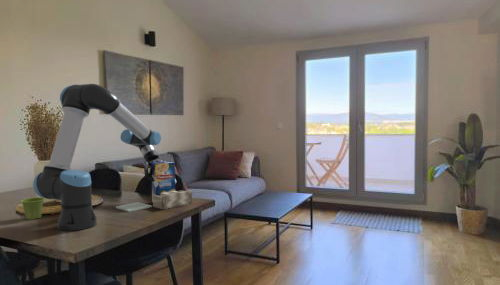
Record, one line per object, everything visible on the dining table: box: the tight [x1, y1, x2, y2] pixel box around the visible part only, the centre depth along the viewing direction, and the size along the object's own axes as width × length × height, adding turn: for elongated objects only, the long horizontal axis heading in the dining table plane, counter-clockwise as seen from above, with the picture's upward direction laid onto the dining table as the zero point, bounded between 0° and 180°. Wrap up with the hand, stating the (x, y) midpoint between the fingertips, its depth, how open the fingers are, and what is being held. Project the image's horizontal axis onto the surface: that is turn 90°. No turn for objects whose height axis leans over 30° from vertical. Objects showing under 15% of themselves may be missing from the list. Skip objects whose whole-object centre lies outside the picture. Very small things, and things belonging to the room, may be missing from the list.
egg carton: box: [152, 190, 193, 210], centre depth 191 cm, size 18×10×7 cm, turn 138°
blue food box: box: [151, 161, 176, 203], centre depth 198 cm, size 7×11×22 cm, turn 123°
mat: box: [115, 201, 153, 213], centre depth 186 cm, size 13×13×1 cm
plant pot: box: [20, 197, 46, 220], centre depth 167 cm, size 9×9×9 cm
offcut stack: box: [160, 190, 179, 196], centre depth 192 cm, size 12×5×6 cm, turn 138°
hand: (166, 184), depth 196 cm, fingers closed on blue food box, 11 cm apart
